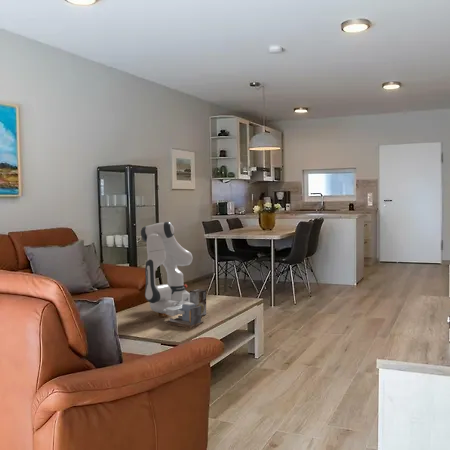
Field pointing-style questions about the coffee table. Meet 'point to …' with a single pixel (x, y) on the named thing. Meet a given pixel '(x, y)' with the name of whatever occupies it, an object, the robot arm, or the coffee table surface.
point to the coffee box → (199, 299)
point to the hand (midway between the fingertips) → (189, 311)
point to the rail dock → (178, 321)
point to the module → (187, 311)
